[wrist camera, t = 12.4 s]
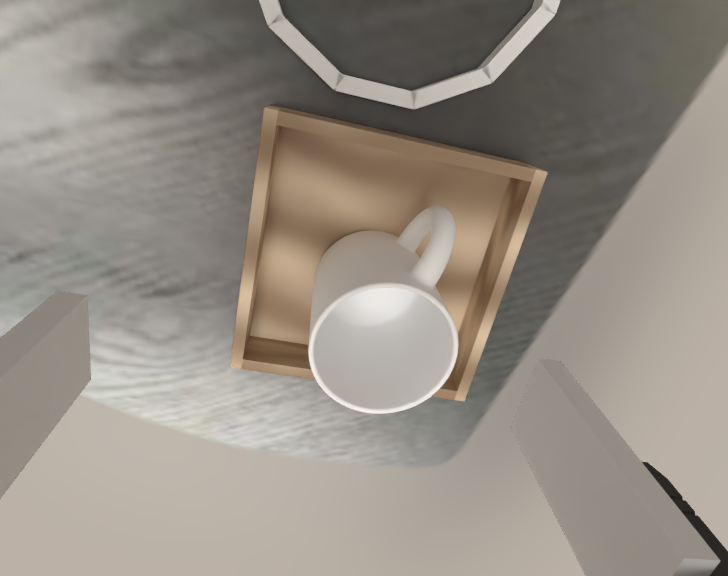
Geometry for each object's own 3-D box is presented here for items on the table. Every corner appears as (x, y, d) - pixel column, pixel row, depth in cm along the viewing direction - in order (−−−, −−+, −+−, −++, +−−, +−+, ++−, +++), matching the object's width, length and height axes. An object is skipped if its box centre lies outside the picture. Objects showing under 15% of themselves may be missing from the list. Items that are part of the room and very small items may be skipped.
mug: (383, 159, 32) (406, 191, 23) (477, 222, 34) (534, 276, 25) (292, 297, 36) (279, 375, 26) (383, 347, 38) (402, 435, 28)
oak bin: (271, 104, 31) (264, 107, 27) (523, 162, 33) (547, 172, 30) (239, 339, 37) (229, 367, 34) (451, 372, 40) (464, 401, 36)
